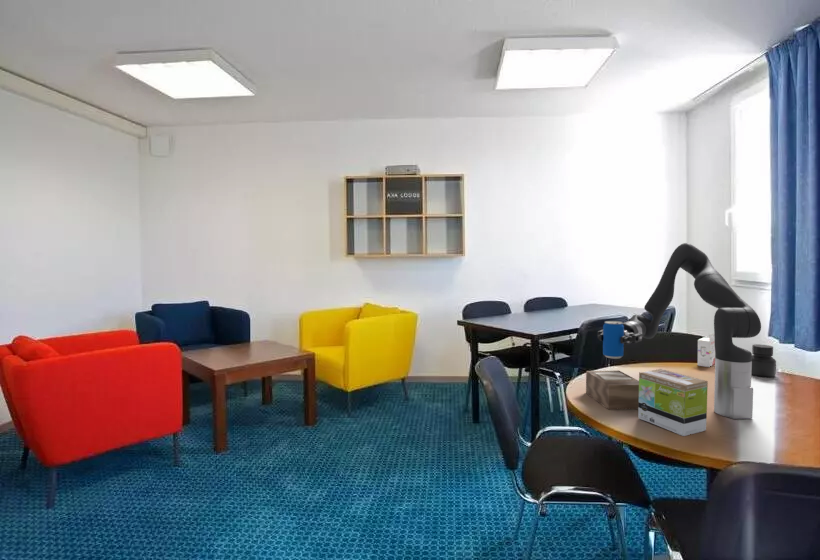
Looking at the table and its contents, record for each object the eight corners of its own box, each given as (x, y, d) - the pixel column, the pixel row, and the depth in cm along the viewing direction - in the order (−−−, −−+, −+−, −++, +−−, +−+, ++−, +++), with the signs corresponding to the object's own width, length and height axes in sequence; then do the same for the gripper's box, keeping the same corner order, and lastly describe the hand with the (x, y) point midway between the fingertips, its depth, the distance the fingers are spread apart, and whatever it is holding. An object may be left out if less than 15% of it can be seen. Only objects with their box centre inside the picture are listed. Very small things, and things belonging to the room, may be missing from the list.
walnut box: (645, 408, 148) (645, 383, 148) (608, 409, 148) (609, 384, 147) (618, 392, 166) (619, 369, 166) (586, 392, 166) (586, 370, 165)
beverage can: (627, 357, 156) (628, 322, 155) (613, 359, 153) (613, 324, 152) (613, 354, 162) (613, 320, 161) (598, 355, 159) (599, 321, 158)
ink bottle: (781, 376, 185) (782, 347, 185) (769, 379, 181) (770, 349, 181) (754, 371, 194) (755, 342, 193) (742, 373, 190) (743, 344, 190)
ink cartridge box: (702, 362, 210) (703, 330, 209) (715, 364, 206) (716, 331, 206) (696, 365, 204) (697, 332, 204) (709, 367, 201) (710, 334, 200)
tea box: (636, 419, 139) (637, 371, 138) (659, 414, 143) (660, 367, 142) (683, 437, 125) (685, 384, 124) (707, 431, 129) (709, 379, 129)
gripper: (608, 320, 172) (589, 326, 160) (649, 324, 162) (633, 330, 150) (607, 340, 172) (589, 347, 160) (649, 345, 163) (633, 353, 150)
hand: (610, 339), depth 155 cm, fingers closed on beverage can, 6 cm apart
